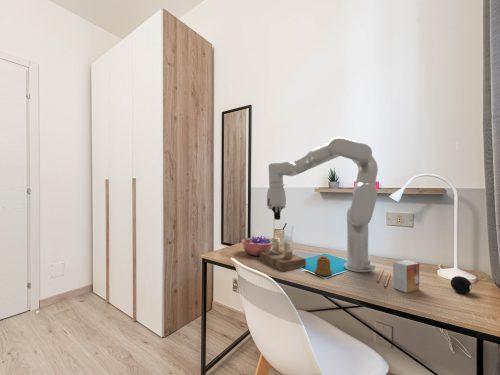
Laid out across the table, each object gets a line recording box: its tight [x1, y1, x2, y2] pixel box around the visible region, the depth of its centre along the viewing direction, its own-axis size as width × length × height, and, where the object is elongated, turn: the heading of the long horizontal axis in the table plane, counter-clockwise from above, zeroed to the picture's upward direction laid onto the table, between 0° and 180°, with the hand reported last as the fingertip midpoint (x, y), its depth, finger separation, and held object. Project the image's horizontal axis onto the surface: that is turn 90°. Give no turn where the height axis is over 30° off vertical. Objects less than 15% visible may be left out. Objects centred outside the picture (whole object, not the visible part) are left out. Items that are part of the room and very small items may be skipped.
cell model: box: [241, 235, 272, 257], centre depth 144 cm, size 17×20×11 cm
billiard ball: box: [450, 275, 473, 294], centre depth 92 cm, size 6×6×6 cm
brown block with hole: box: [258, 241, 307, 272], centre depth 128 cm, size 22×14×12 cm, turn 29°
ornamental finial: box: [314, 255, 333, 277], centre depth 112 cm, size 8×8×8 cm
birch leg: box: [271, 237, 281, 255], centre depth 132 cm, size 4×4×12 cm
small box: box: [392, 259, 420, 293], centre depth 96 cm, size 8×6×10 cm
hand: (277, 219), depth 132 cm, fingers closed
